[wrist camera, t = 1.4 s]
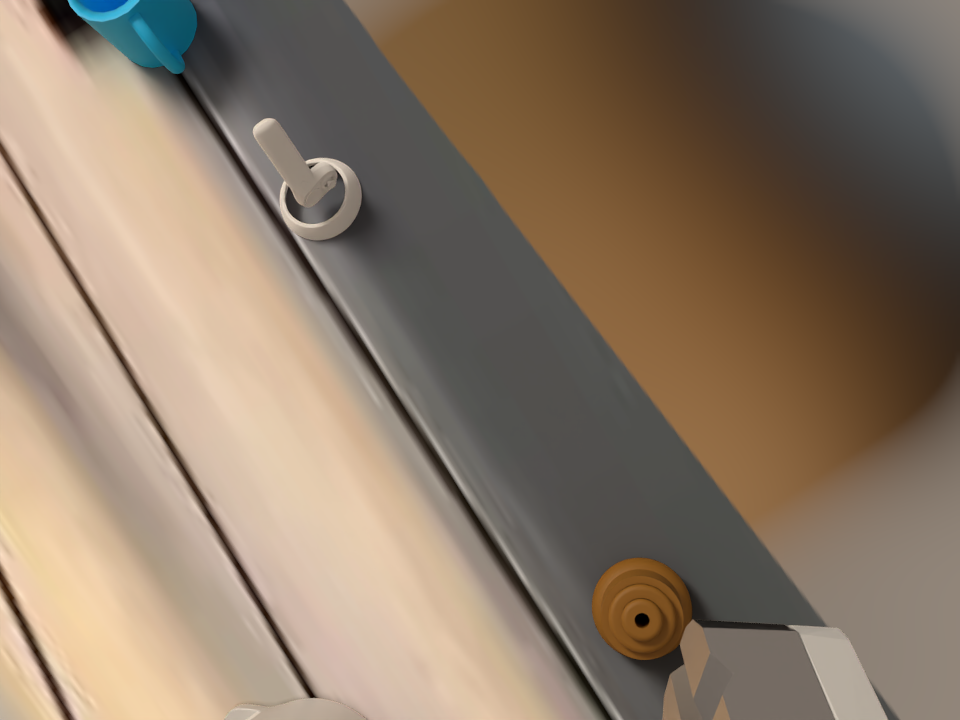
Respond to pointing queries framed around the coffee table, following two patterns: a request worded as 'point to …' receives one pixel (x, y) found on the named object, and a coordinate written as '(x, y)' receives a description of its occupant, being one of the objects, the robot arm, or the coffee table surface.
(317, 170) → the vr controller
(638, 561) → the ornamental finial
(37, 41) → the coffee table surface
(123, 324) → the coffee table surface
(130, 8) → the mug
